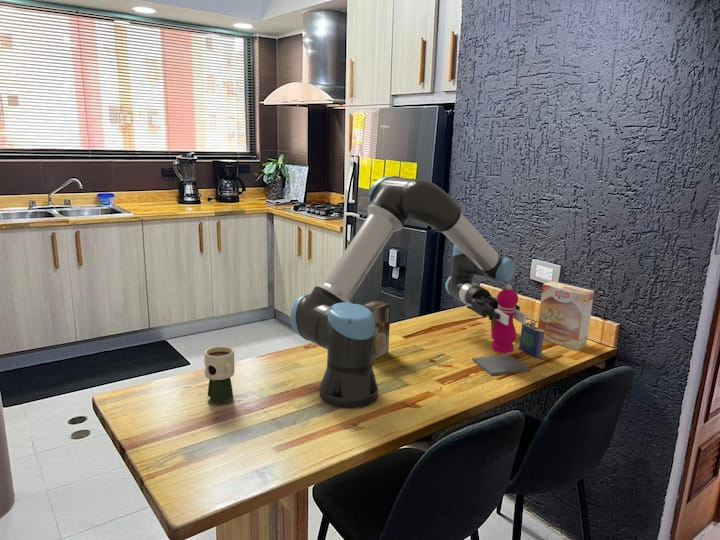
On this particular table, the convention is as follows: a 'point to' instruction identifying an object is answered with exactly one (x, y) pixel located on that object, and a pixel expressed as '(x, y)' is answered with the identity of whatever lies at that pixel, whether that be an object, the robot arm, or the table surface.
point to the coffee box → (380, 326)
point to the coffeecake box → (565, 314)
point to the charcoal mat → (500, 364)
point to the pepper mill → (502, 332)
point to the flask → (531, 339)
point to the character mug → (219, 373)
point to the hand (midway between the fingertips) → (516, 319)
